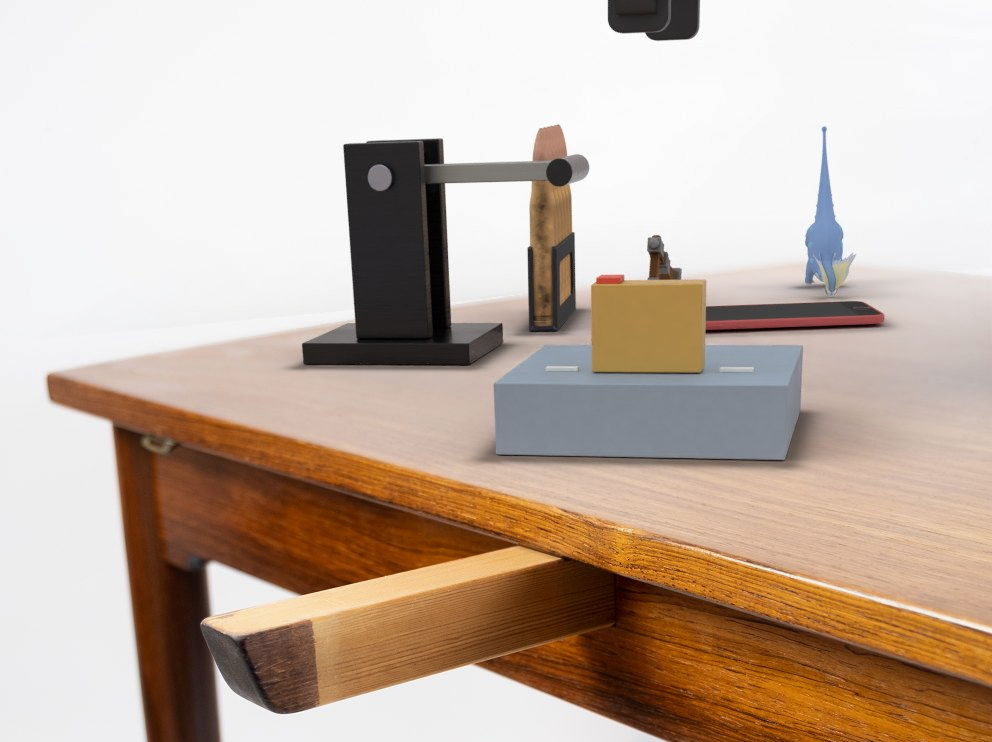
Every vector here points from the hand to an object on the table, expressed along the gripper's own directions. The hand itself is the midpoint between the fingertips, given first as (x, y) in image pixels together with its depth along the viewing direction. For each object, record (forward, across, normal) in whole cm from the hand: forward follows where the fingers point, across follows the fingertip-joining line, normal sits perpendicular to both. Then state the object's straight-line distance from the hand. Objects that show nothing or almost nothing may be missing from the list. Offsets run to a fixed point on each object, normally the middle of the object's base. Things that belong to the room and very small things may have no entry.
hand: (656, 36), depth 59 cm
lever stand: (+16, +23, +18) cm, 33 cm away
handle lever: (+7, +23, +14) cm, 27 cm away
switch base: (+16, +2, 0) cm, 16 cm away
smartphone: (+16, +35, -2) cm, 38 cm away
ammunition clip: (+16, +37, +12) cm, 42 cm away
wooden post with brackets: (+16, +47, +6) cm, 50 cm away
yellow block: (+13, 0, 0) cm, 13 cm away
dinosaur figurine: (+16, +52, -5) cm, 54 cm away
